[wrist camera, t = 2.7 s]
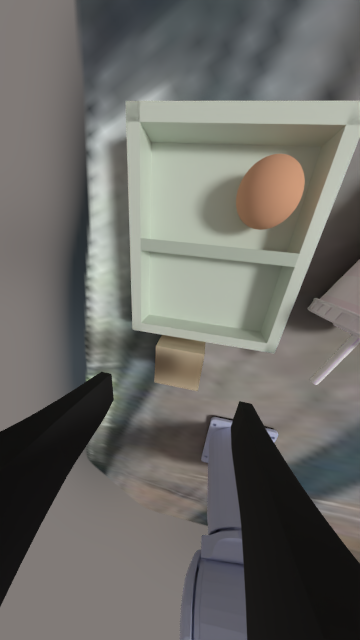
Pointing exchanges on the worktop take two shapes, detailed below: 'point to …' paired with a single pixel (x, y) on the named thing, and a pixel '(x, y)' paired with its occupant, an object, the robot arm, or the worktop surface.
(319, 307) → the smoothie
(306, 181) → the tray
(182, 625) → the robot arm
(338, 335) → the worktop surface
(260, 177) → the terracotta ball
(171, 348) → the maple block
